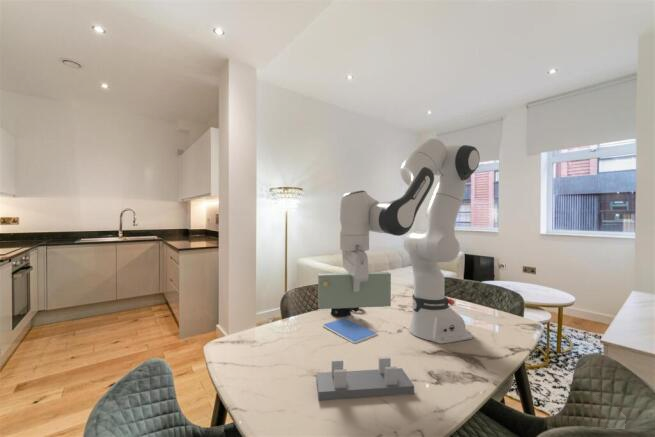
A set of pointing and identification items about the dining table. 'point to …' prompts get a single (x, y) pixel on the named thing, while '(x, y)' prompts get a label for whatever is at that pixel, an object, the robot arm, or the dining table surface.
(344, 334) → the tablet computer
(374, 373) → the hinge base
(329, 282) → the cabinet door
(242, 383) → the dining table surface
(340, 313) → the milk frother
